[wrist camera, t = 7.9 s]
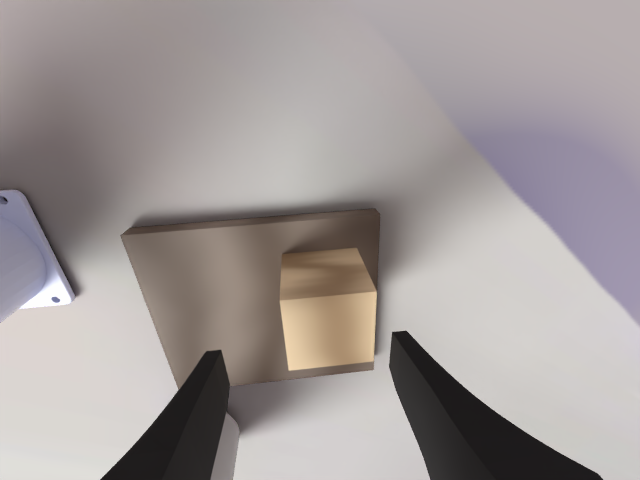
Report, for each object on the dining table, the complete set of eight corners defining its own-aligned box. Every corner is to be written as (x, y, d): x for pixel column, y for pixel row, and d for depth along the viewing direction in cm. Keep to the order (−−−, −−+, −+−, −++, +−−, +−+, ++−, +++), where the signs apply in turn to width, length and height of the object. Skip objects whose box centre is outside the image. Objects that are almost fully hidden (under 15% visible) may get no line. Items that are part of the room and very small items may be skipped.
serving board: (184, 379, 25) (179, 392, 24) (130, 227, 19) (120, 235, 18) (370, 358, 26) (373, 370, 25) (375, 208, 20) (380, 214, 19)
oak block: (288, 314, 22) (288, 370, 17) (281, 254, 19) (279, 300, 15) (356, 307, 22) (373, 361, 17) (356, 247, 20) (376, 291, 15)
